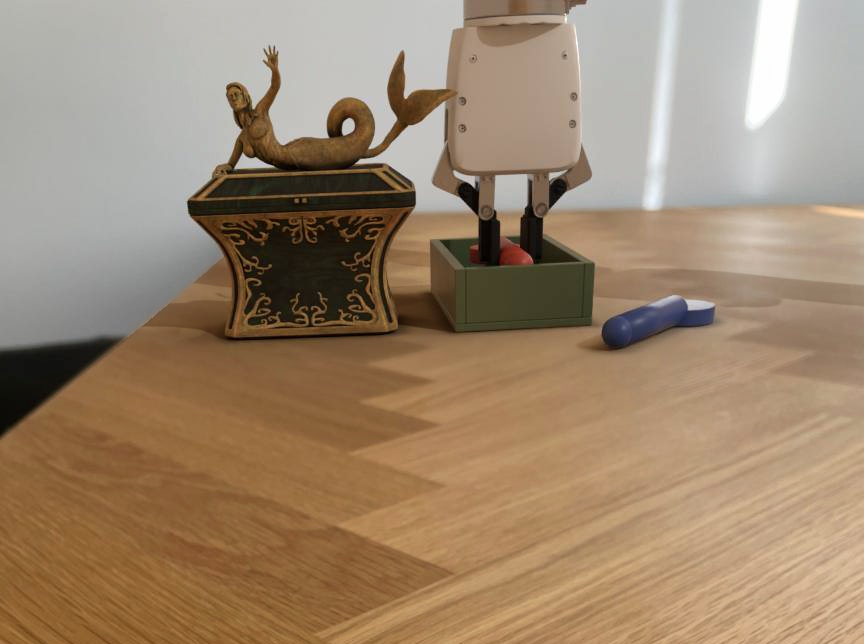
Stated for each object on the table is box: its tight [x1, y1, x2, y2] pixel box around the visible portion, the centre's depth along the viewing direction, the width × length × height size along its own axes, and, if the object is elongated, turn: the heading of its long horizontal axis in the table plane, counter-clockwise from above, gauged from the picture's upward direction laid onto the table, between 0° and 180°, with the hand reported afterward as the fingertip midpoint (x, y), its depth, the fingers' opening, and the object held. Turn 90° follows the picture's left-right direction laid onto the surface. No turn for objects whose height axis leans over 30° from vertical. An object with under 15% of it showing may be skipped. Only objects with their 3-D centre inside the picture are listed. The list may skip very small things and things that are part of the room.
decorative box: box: [186, 44, 458, 340], centre depth 79 cm, size 20×10×20 cm, turn 90°
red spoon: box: [470, 237, 533, 266], centre depth 86 cm, size 14×5×2 cm, turn 4°
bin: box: [429, 233, 596, 333], centre depth 88 cm, size 11×19×5 cm, turn 4°
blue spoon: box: [600, 294, 716, 350], centre depth 77 cm, size 14×5×2 cm, turn 142°
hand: (509, 268), depth 84 cm, fingers closed on red spoon, 2 cm apart
